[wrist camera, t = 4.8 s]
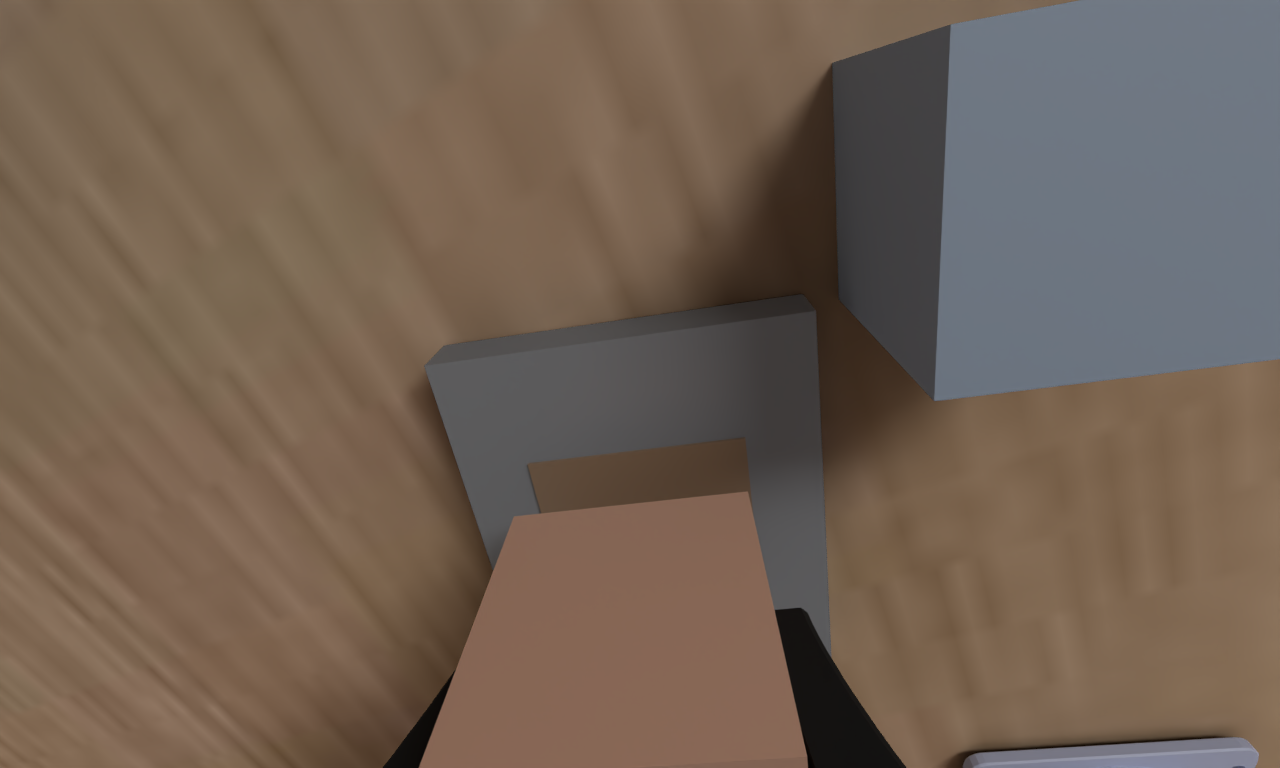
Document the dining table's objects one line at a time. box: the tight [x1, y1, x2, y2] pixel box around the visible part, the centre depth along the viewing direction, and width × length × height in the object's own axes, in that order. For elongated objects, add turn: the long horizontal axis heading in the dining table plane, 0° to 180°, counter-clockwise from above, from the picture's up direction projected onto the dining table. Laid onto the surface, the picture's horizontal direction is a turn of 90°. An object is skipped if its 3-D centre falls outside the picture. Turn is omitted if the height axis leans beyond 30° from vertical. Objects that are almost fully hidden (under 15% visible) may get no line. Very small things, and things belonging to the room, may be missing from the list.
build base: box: [424, 294, 831, 657], centre depth 14 cm, size 10×8×1 cm
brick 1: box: [419, 491, 808, 768], centre depth 10 cm, size 4×4×5 cm
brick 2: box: [832, 0, 1280, 401], centre depth 9 cm, size 4×4×5 cm
